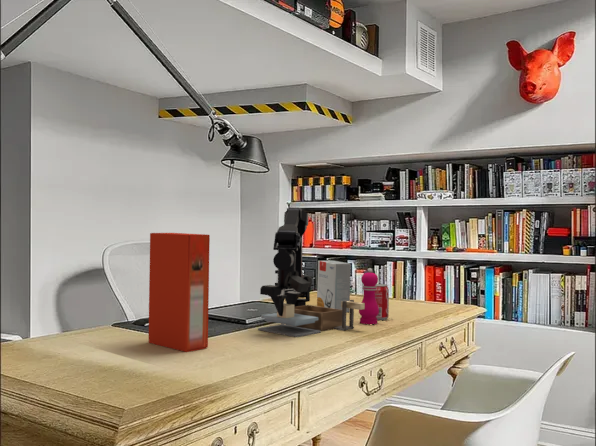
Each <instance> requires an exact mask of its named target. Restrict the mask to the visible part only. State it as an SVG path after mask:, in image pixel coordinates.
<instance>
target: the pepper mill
mask: <svg viewBox="0 0 596 446" xmlns="http://www.w3.org/2000/svg"><path fill="white" fill-rule="evenodd" d="M360 280H361V284H363V285H362V290H363V297H362V301H361V302H360V303H365V309H363V310H358V314H359V315H360V316H361V317H360V318H359V324H361V323H362V325H367V324H374V325H377V324H378V320H377V318H376V316H377V315H378V314H379V308H378V305H377V302H376V299H375V290H376V284H379V283H378V282H379V277H378V275H377V274H376V273H374V272H373V269H372V268H371V267H369V268H367V272H365V273H363V274H362V276H361V279H360Z"/></svg>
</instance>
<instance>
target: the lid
mask: <svg viewBox="0 0 596 446" xmlns="http://www.w3.org/2000/svg"><path fill="white" fill-rule="evenodd" d="M260 316H261V317H260V318H261V319H263V320H264V322H265V321H266V322H270V323H277V324H280V325H281V324H284V325H285V324H287V325H292V326H298V325H304V324H310V323H315V321H317V320H318V317H314V316H307V315H301V314H295V313H294V305H293V304H286V302H284V307H283V316H279V314H278V311H277V310H276V312H274V313H267V314H266V313H265V314H261V315H260Z"/></svg>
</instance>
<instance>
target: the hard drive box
mask: <svg viewBox="0 0 596 446" xmlns="http://www.w3.org/2000/svg"><path fill="white" fill-rule="evenodd" d="M351 267H352V265H351V263H349V262H345V261H344V262H343V261H338V260H318V261H317V286H316V289H317V292H316V294H317V295H316V306H319V307H326V308H333V309H340V310H342V307H341V301H350V300H351ZM346 313H350V308H346Z"/></svg>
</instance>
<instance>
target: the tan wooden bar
mask: <svg viewBox="0 0 596 446" xmlns="http://www.w3.org/2000/svg"><path fill="white" fill-rule="evenodd" d="M341 307H342V301H341ZM346 308H349V310H350V309H354V310H358V311H359V310H363V309H365V303H361V302H357V301H354V302H351V301H347V306H346Z"/></svg>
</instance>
